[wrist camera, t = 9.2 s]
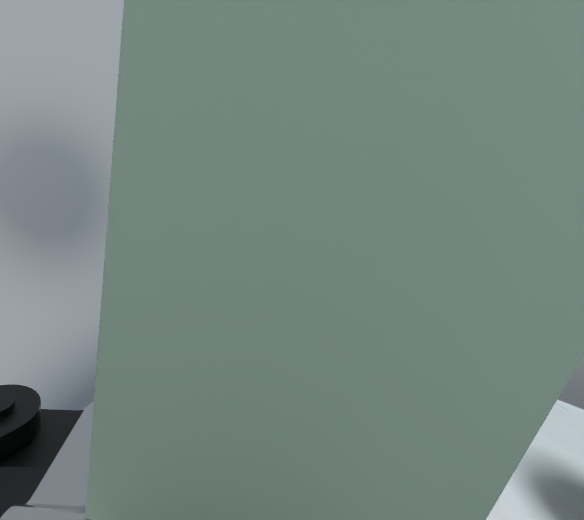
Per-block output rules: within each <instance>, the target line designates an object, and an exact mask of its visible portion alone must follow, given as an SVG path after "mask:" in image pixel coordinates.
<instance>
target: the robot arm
mask: <svg viewBox="0 0 584 520" xmlns="http://www.w3.org/2000/svg"><path fill="white" fill-rule="evenodd" d="M93 405H94V401H93V402H92V403H91V404H89V405H88V406H87V407H86V408H85V410H80V411H72V410H48V409H41V401H40V396H39V394H38V393H37V392H36V391H34V390H33V389H31V388H29V387H26V386H21V385H0V520H91V519H88V518H85V510H86V497H87V484H88V471H89V457H90V444H91V431H92V418H93Z"/></svg>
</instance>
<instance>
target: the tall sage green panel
mask: <svg viewBox="0 0 584 520" xmlns="http://www.w3.org/2000/svg"><path fill="white" fill-rule="evenodd" d="M120 49H121V50H120V62H119V74H118V88H117V100H116V101H117V102H116V114H115V127H114V140H113V154H112V167H111V180H110V193H109V207H108V220H107V233H106V248H105V260H104V272H103V286H102V299H101V312H100V313H101V314H100V326H99V339H98V353H97V366H96V378H95V392H94V405H93V418H92V431H91V444H90V457H89V471H88V484H87V497H86V510H85V518H88V519H91V520H486V518H487V517H488V515H489V513H490V511H491V510H492V508H493V506H494V505H495V503H496V501H497V500H498V498H499V496H500V495H501V493H502V491H503V490H504V488H505V486H506V485H507V483H508V481H509V479H510V478H511V476H512V474H513V473H514V471H515V469H516V468H517V466H518V464H519V463H520V461H521V459H522V458H523V456H524V454H525V453H526V451H527V449H528V448H529V446H530V444H531V442H532V441H533V439H534V437H535V436H536V434H537V432H538V431H539V429H540V427H541V426H542V424H543V422H544V421H545V419H546V417H547V416H548V414H549V412H550V411H551V409H552V407H553V405H554V404H555V402H556V400H557V399H558V397H559V395H560V394H561V392H562V390H563V389H564V387H565V385H566V384H567V382H568V380H569V378H570V377H571V375H572V374H573V372H574V370H575V368H576V367H577V365H578V363H579V362H580V360H581V358H582V357H583V355H584V0H124V8H123V21H122V35H121V48H120Z"/></svg>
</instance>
